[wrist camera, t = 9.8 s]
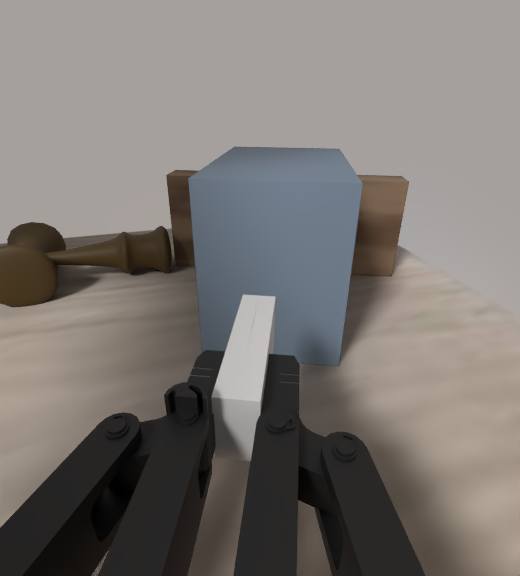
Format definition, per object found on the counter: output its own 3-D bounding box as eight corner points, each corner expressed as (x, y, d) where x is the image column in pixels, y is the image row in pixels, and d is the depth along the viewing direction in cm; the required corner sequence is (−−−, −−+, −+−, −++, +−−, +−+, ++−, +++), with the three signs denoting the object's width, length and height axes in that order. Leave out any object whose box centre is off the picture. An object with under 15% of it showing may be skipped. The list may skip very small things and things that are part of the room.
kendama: (178, 291, 38) (-58, 319, 32) (167, 259, 46) (-22, 276, 40) (174, 235, 35) (-83, 253, 29) (163, 211, 44) (-39, 222, 37)
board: (391, 276, 40) (409, 181, 36) (175, 265, 42) (166, 175, 38) (386, 265, 43) (401, 176, 38) (183, 255, 45) (175, 170, 40)
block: (338, 367, 27) (362, 183, 21) (202, 357, 28) (188, 178, 22) (327, 274, 41) (339, 148, 35) (237, 269, 42) (234, 146, 36)
